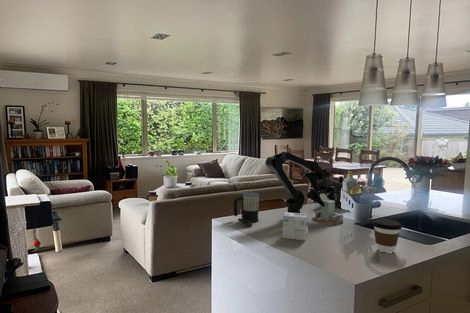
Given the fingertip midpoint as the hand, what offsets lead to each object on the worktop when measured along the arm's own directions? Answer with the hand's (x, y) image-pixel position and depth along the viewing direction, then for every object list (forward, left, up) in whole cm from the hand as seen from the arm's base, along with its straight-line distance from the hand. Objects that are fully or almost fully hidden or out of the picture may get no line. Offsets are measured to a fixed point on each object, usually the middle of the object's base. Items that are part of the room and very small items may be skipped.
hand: (330, 205), depth 177 cm
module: (0, +1, -8) cm, 8 cm away
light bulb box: (-34, -9, -9) cm, 36 cm away
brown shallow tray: (0, +1, -9) cm, 9 cm away
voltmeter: (+38, +23, -9) cm, 45 cm away
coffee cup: (-14, -41, -9) cm, 44 cm away
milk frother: (-38, +21, -9) cm, 45 cm away
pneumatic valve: (+22, +21, -9) cm, 32 cm away
